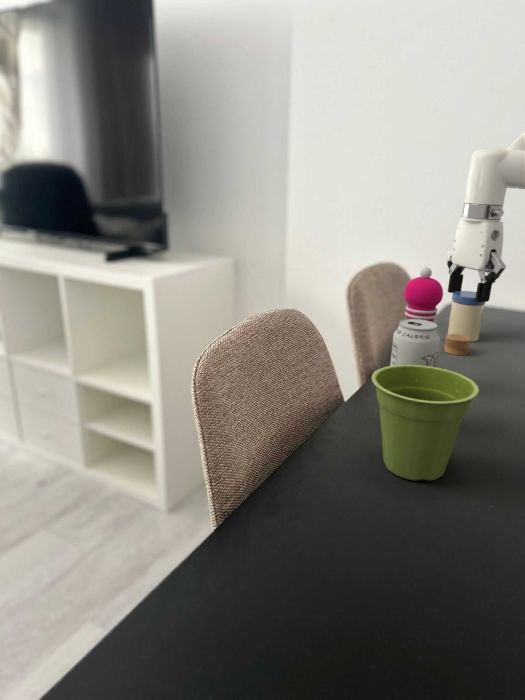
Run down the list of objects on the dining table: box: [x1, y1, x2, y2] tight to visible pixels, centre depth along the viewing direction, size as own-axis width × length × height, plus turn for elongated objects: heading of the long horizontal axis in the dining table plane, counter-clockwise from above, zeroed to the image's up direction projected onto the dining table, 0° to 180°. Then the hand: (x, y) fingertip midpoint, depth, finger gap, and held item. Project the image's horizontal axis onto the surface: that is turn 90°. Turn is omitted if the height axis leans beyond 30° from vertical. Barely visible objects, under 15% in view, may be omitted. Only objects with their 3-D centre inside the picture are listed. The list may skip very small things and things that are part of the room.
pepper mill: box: [403, 266, 444, 368], centre depth 84 cm, size 7×7×20 cm
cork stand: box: [443, 334, 472, 356], centre depth 104 cm, size 5×5×3 cm
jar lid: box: [451, 290, 487, 305], centre depth 111 cm, size 7×7×2 cm
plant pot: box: [371, 365, 480, 482], centre depth 61 cm, size 12×12×11 cm
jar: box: [446, 299, 486, 342], centre depth 112 cm, size 7×7×9 cm
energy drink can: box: [389, 318, 441, 368], centre depth 71 cm, size 6×6×15 cm
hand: (467, 296), depth 111 cm, fingers open, 8 cm apart
